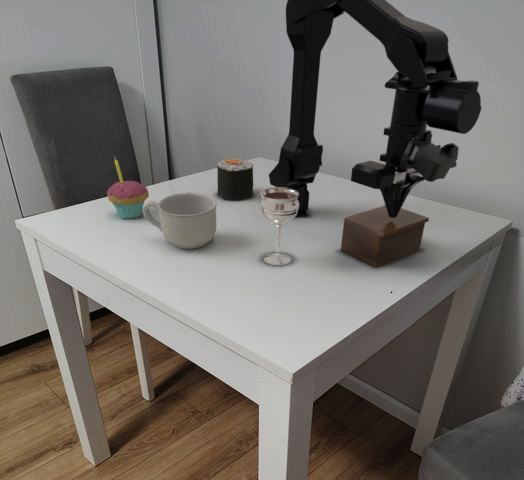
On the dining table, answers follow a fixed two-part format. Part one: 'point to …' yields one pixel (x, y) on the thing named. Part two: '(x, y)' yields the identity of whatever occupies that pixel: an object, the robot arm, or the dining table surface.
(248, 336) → the dining table surface
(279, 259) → the wineglass
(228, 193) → the sushi
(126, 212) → the cupcake
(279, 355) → the dining table surface
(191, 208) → the teacup
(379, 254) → the chest
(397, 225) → the lid
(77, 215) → the dining table surface
